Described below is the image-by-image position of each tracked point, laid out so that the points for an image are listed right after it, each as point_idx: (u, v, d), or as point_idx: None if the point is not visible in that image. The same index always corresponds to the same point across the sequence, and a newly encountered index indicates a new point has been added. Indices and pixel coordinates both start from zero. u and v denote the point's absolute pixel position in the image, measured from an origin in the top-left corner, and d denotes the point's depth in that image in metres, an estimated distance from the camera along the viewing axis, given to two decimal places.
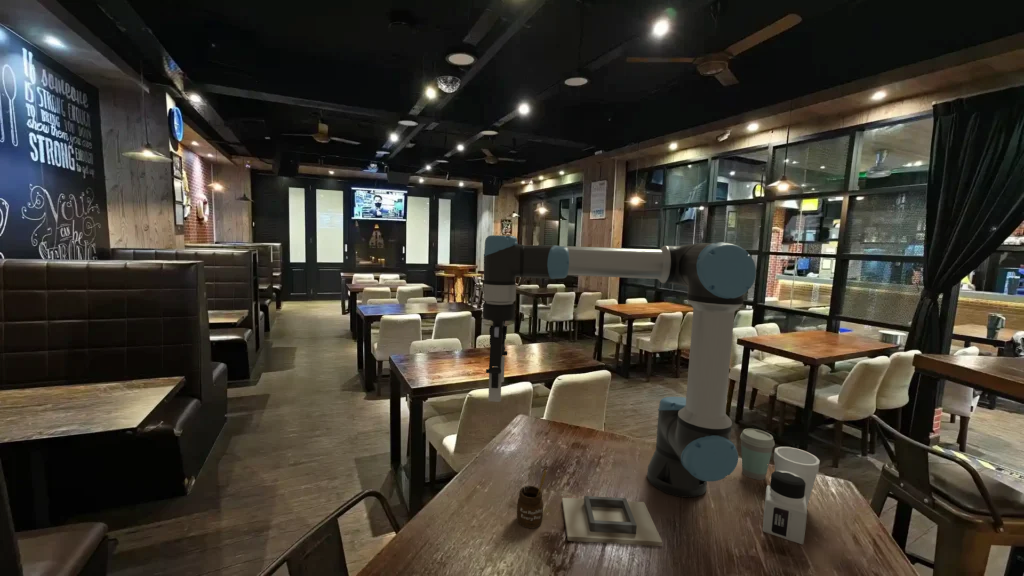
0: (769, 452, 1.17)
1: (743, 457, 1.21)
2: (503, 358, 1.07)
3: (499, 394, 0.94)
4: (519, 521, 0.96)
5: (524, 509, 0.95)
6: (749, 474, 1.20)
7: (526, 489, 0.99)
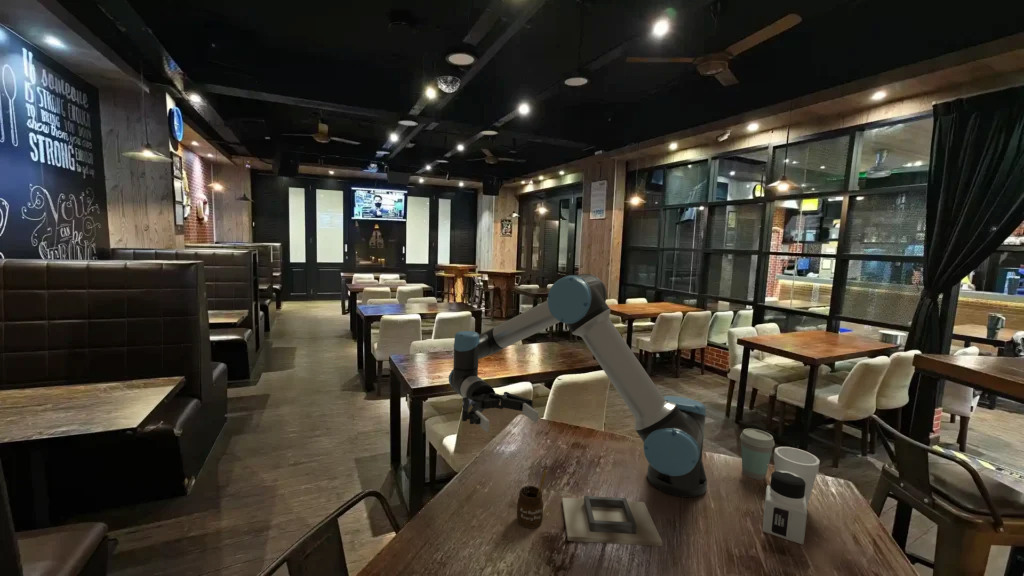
0: (769, 452, 1.17)
1: (743, 457, 1.21)
2: (523, 404, 1.12)
3: (483, 419, 1.02)
4: (519, 521, 0.96)
5: (524, 509, 0.95)
6: (749, 474, 1.20)
7: (526, 489, 0.99)
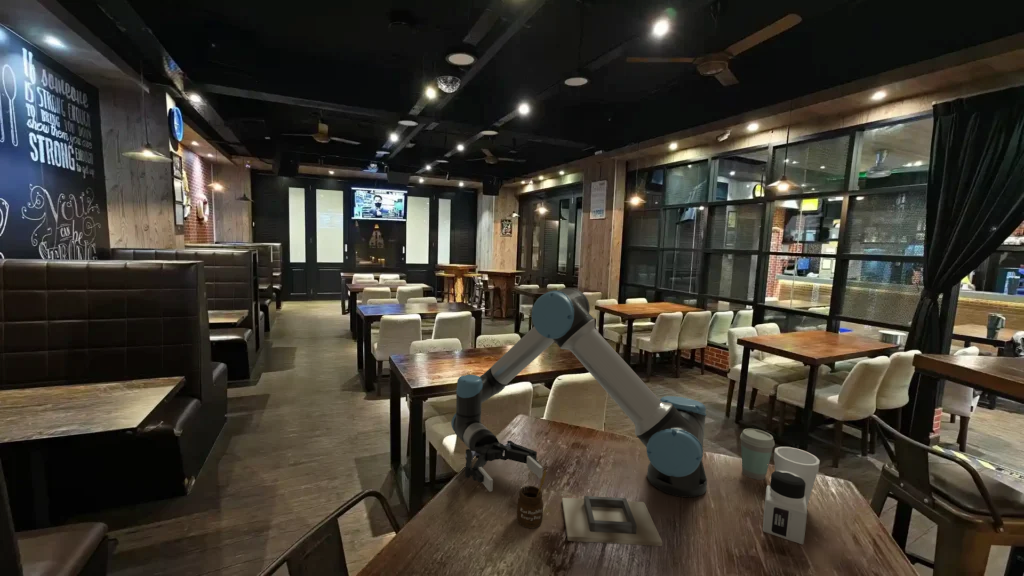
0: (769, 452, 1.17)
1: (743, 457, 1.21)
2: (527, 457, 1.10)
3: (486, 478, 1.00)
4: (519, 521, 0.96)
5: (524, 509, 0.95)
6: (749, 474, 1.20)
7: (526, 489, 0.99)
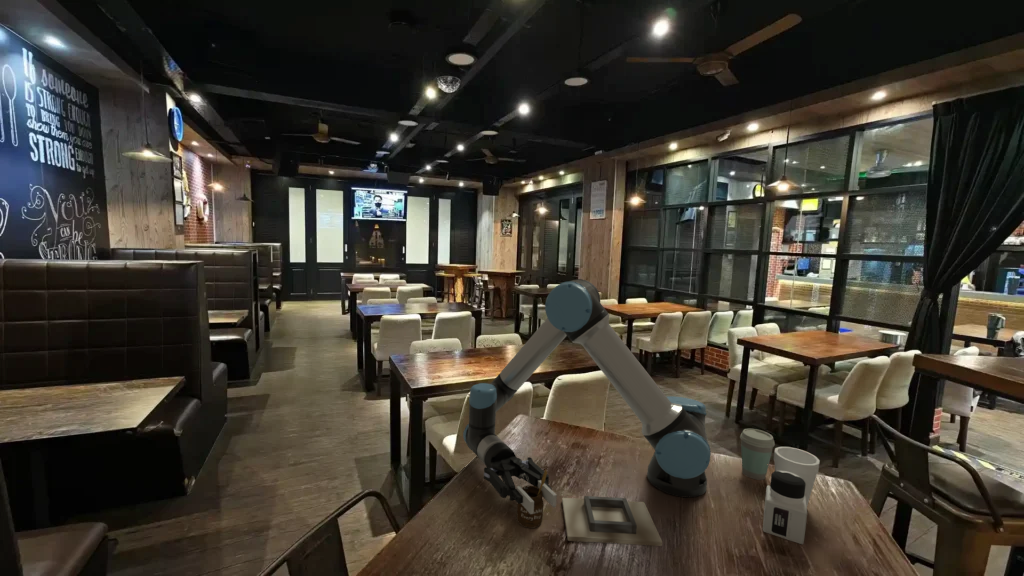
0: (769, 452, 1.17)
1: (743, 457, 1.21)
2: (539, 482, 0.99)
3: (527, 499, 0.92)
4: (519, 521, 0.96)
5: (524, 508, 0.95)
6: (749, 474, 1.20)
7: (526, 489, 0.99)
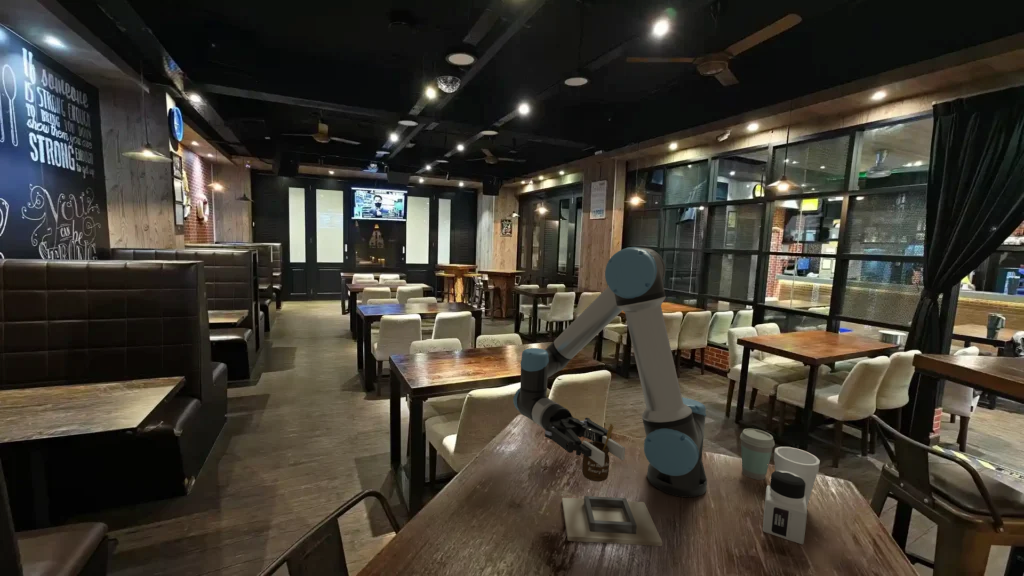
0: (769, 452, 1.17)
1: (743, 457, 1.21)
2: (603, 437, 0.99)
3: (597, 451, 0.92)
4: (586, 475, 0.96)
5: (592, 462, 0.94)
6: (749, 474, 1.20)
7: None
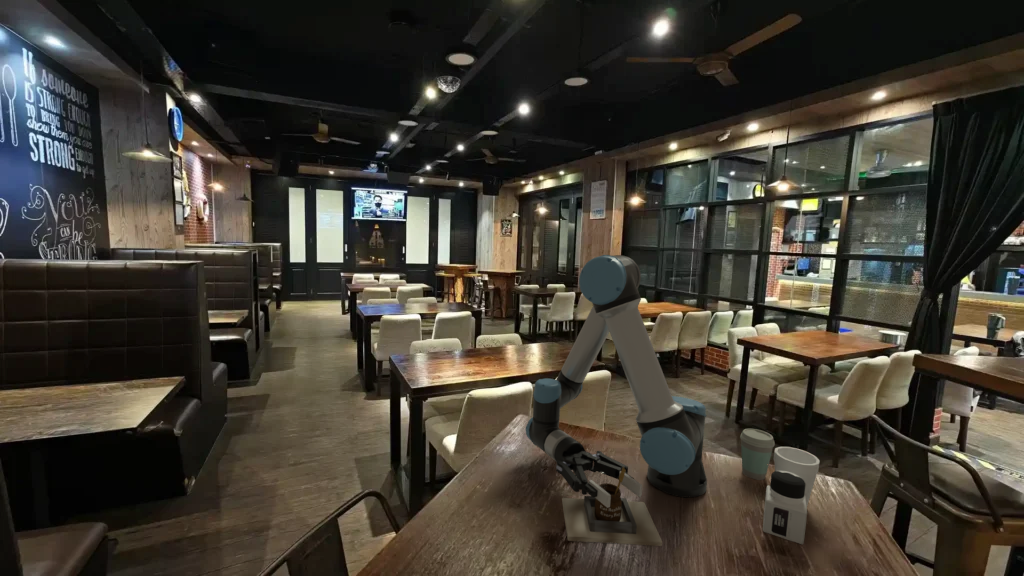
0: (769, 452, 1.17)
1: (743, 457, 1.21)
2: None
3: (602, 493, 0.92)
4: (598, 518, 0.96)
5: (604, 506, 0.95)
6: (749, 474, 1.20)
7: (603, 486, 1.00)
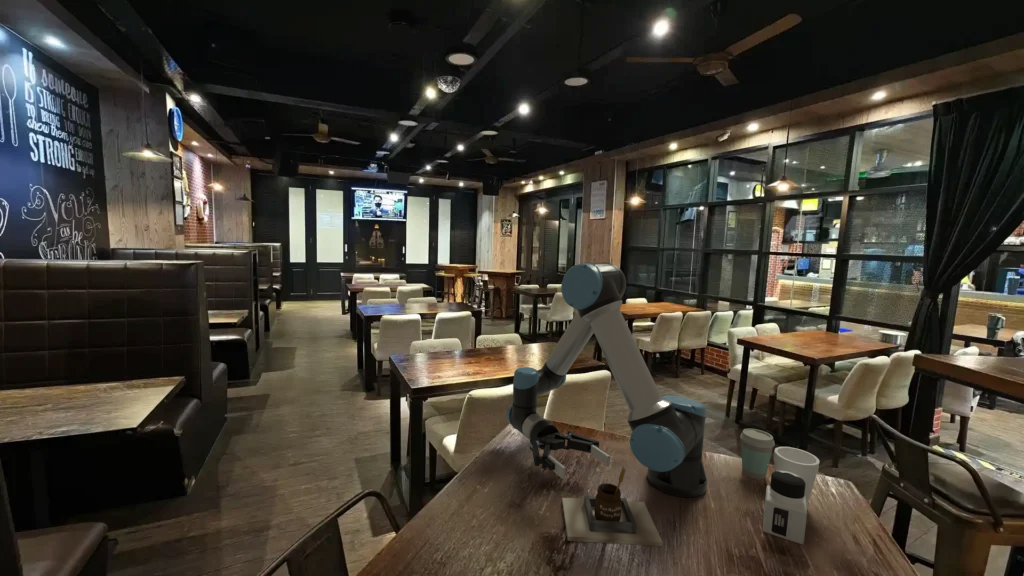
0: (769, 452, 1.17)
1: (743, 457, 1.21)
2: (592, 446, 1.13)
3: (559, 466, 1.03)
4: (598, 518, 0.96)
5: (604, 506, 0.95)
6: (749, 474, 1.20)
7: (603, 486, 1.00)
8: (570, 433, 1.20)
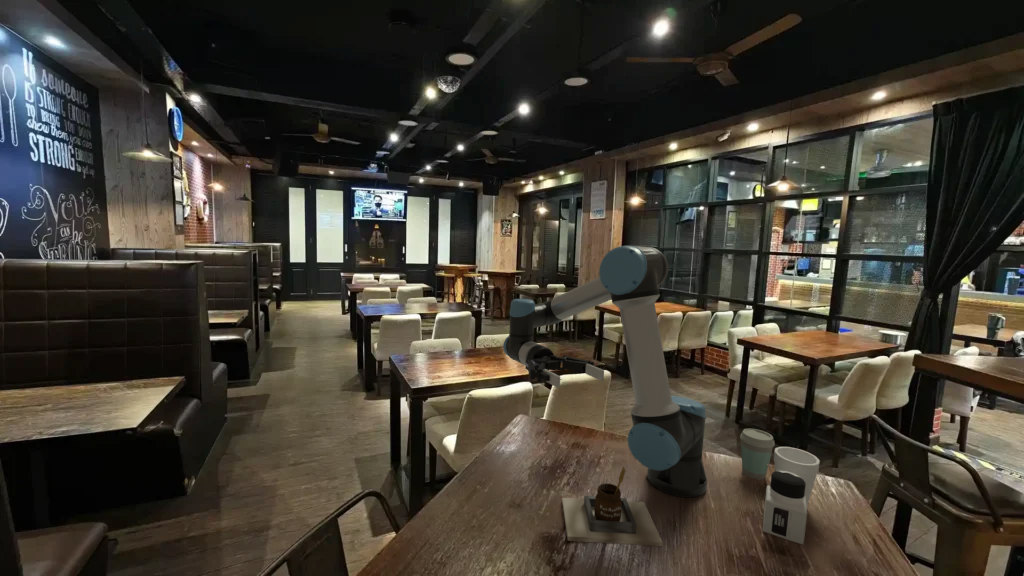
0: (769, 452, 1.17)
1: (743, 457, 1.21)
2: (587, 365, 1.15)
3: (553, 375, 1.04)
4: (598, 518, 0.96)
5: (604, 506, 0.95)
6: (749, 474, 1.20)
7: (603, 486, 1.00)
8: (566, 357, 1.22)
